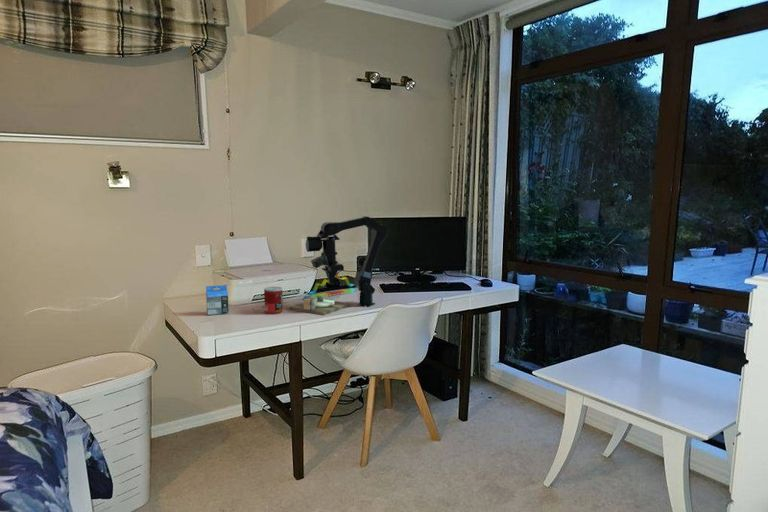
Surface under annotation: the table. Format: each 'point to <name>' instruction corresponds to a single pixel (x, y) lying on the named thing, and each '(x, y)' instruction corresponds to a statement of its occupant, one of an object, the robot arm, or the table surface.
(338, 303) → the beige square tray
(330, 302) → the flange plate
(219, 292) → the label tape cartridge
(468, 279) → the table surface
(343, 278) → the chart
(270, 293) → the canned food
